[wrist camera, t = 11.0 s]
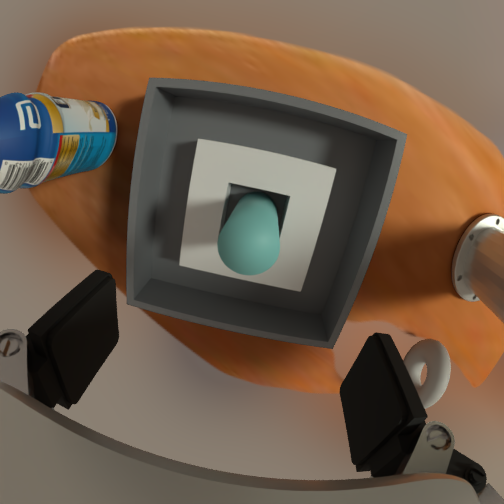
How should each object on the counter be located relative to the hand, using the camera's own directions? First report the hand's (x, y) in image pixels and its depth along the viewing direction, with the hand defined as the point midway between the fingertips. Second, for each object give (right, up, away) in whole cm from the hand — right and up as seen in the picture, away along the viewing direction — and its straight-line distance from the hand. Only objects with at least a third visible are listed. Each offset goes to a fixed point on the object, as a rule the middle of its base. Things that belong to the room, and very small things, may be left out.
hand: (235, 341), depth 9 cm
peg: (+1, +7, +18) cm, 19 cm away
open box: (+1, +7, +19) cm, 20 cm away
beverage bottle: (-18, +16, +17) cm, 29 cm away
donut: (+24, -12, +25) cm, 36 cm away
